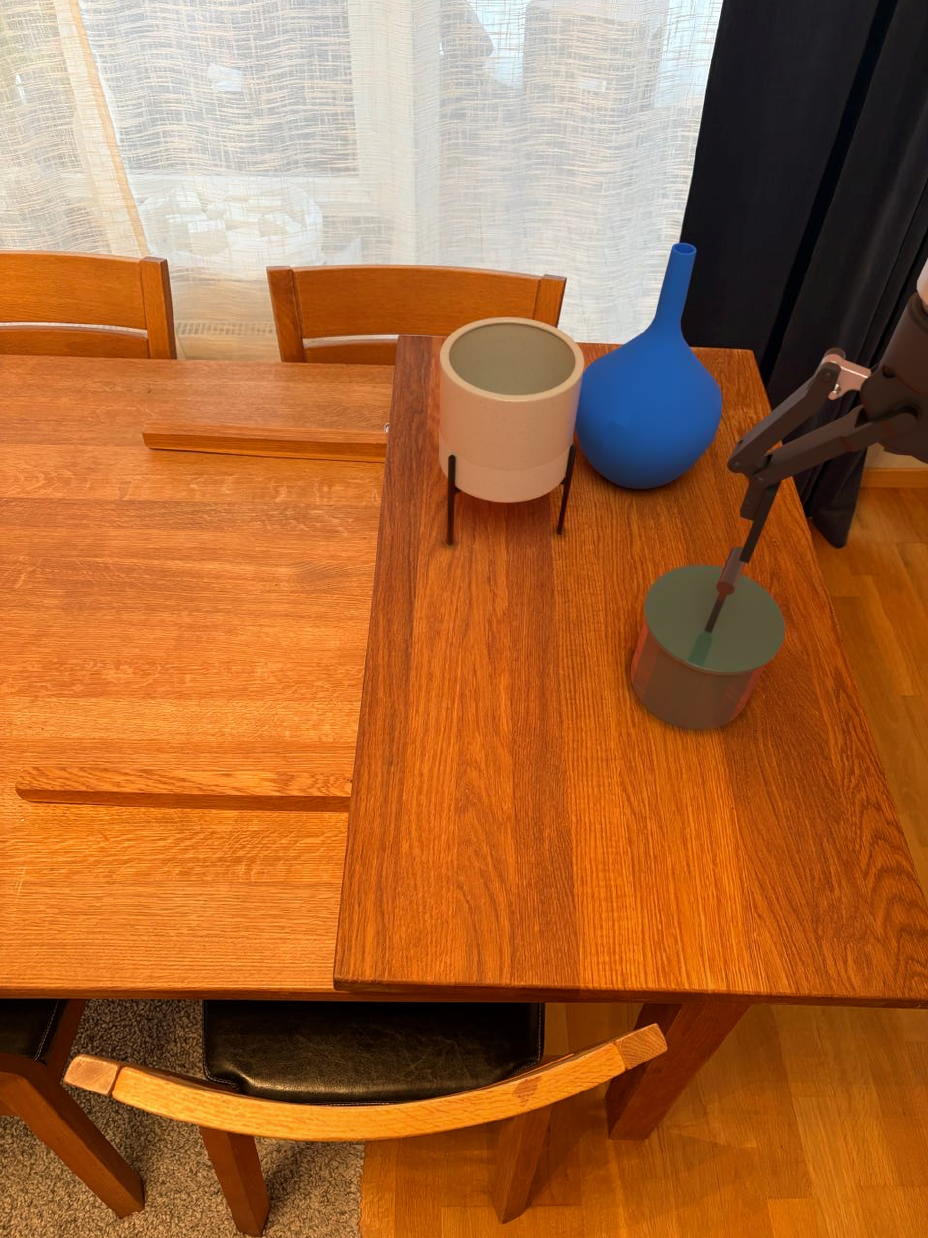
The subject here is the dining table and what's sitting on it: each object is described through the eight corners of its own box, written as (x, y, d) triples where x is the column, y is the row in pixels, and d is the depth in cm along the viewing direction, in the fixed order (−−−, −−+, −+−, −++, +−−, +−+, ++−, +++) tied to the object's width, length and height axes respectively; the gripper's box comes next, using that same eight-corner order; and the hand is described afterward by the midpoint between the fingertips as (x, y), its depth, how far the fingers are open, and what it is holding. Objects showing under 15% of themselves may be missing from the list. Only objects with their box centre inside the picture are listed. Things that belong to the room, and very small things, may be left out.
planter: (543, 466, 114) (564, 308, 96) (572, 552, 104) (601, 394, 86) (430, 476, 112) (429, 316, 94) (448, 565, 102) (451, 405, 84)
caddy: (758, 661, 94) (789, 599, 86) (729, 748, 87) (759, 689, 79) (651, 621, 97) (671, 557, 89) (614, 701, 90) (632, 640, 82)
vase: (544, 434, 118) (572, 218, 95) (664, 412, 122) (718, 200, 99) (597, 524, 107) (643, 305, 84) (727, 496, 111) (804, 280, 88)
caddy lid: (795, 601, 87) (825, 541, 80) (762, 700, 79) (792, 644, 72) (666, 555, 90) (684, 495, 84) (623, 646, 82) (639, 587, 76)
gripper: (1248, 337, 44) (1030, 607, 60) (769, 226, 51) (689, 496, 67) (1263, 415, 40) (1024, 684, 56) (736, 283, 46) (659, 556, 63)
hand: (841, 582), depth 62 cm, fingers open, 13 cm apart
